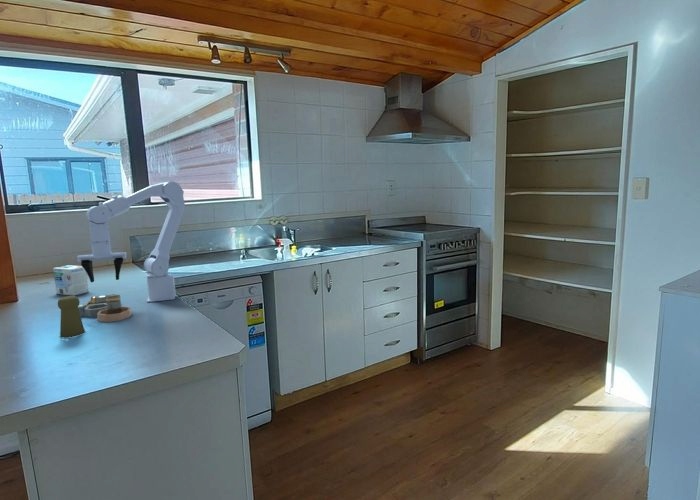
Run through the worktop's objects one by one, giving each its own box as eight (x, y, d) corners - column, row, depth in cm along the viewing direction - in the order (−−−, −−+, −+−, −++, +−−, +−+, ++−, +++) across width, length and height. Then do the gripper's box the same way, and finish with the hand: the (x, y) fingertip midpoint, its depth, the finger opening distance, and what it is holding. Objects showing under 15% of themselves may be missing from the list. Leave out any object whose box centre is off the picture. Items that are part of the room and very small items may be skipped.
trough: (120, 303, 154) (119, 298, 154) (117, 307, 149) (117, 301, 149) (88, 306, 151) (88, 301, 151) (85, 311, 146) (84, 305, 145)
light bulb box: (55, 294, 172) (52, 267, 170) (71, 290, 178) (68, 264, 176) (73, 296, 168) (70, 269, 166) (89, 291, 174) (86, 265, 172)
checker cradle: (112, 309, 147) (111, 299, 146) (108, 315, 140) (107, 305, 139) (81, 312, 143) (80, 303, 143) (76, 319, 137) (75, 308, 136)
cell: (123, 313, 140) (120, 292, 139) (121, 317, 136) (119, 295, 135) (109, 315, 139) (106, 293, 138) (106, 318, 135) (104, 296, 134)
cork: (58, 339, 118) (53, 300, 117) (61, 332, 124) (56, 296, 122) (84, 335, 121) (79, 297, 120) (85, 329, 126) (81, 293, 125)
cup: (132, 311, 143) (132, 305, 143) (129, 319, 135) (128, 312, 135) (101, 315, 140) (101, 308, 140) (96, 323, 132) (95, 316, 131)
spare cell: (114, 305, 153) (114, 294, 153) (112, 306, 149) (111, 294, 149) (92, 307, 151) (91, 296, 151) (89, 308, 147) (88, 297, 147)
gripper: (72, 244, 139) (78, 285, 141) (122, 241, 144) (127, 280, 146) (78, 242, 145) (83, 280, 147) (125, 239, 150) (129, 276, 152)
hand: (105, 280), depth 147 cm, fingers open, 7 cm apart
